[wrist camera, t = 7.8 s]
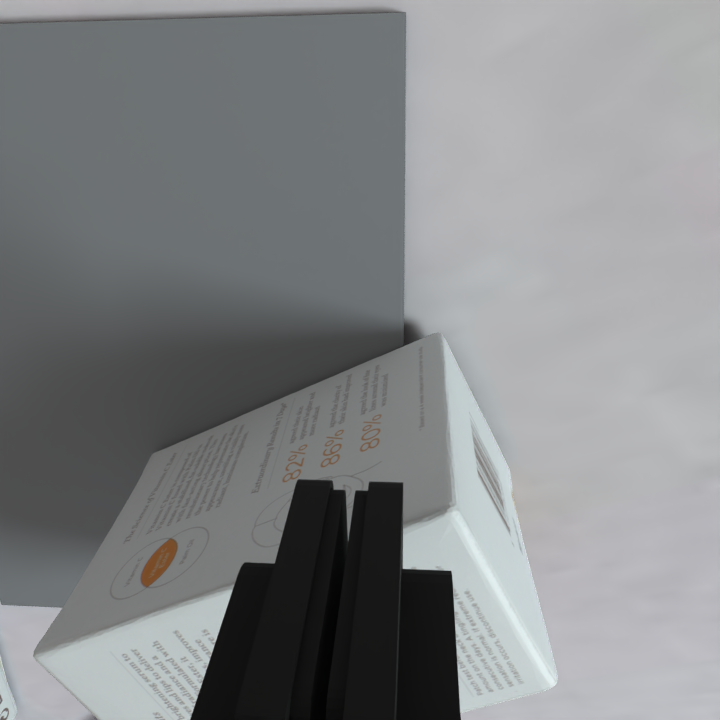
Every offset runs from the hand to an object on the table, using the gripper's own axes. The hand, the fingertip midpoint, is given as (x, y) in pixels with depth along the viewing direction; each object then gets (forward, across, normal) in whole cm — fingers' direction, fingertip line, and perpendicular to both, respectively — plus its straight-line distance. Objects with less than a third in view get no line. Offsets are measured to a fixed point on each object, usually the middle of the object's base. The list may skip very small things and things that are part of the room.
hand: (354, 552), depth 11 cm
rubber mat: (+10, +7, +2) cm, 12 cm away
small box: (+5, -3, +3) cm, 7 cm away
